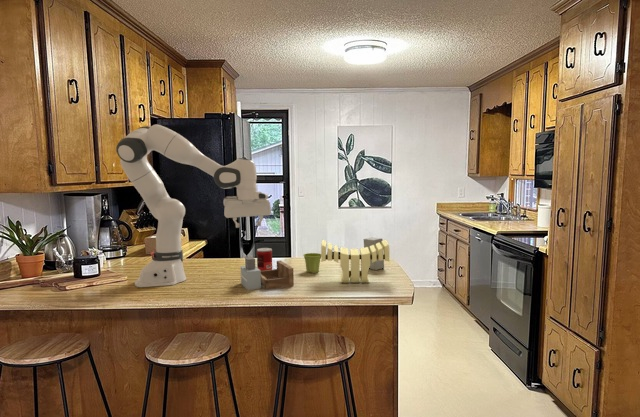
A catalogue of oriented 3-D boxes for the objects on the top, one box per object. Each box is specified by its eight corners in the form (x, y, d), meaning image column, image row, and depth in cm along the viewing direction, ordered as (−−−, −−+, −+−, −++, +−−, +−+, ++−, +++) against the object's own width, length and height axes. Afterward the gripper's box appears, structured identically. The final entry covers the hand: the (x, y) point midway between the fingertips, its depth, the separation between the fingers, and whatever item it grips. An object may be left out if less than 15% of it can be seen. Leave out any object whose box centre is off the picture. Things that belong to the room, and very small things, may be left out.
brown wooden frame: (255, 279, 191) (254, 263, 190) (280, 276, 196) (280, 260, 195) (266, 289, 175) (265, 271, 174) (293, 285, 180) (293, 268, 179)
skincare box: (384, 268, 210) (384, 238, 208) (374, 270, 206) (374, 239, 204) (373, 265, 217) (373, 236, 215) (363, 267, 213) (363, 237, 211)
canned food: (273, 268, 214) (273, 247, 213) (270, 272, 206) (269, 250, 205) (259, 268, 215) (259, 247, 214) (255, 272, 207) (255, 250, 206)
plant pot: (315, 268, 213) (315, 252, 212) (325, 272, 205) (325, 255, 204) (300, 271, 208) (299, 254, 207) (309, 274, 200) (309, 257, 199)
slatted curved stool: (321, 284, 181) (321, 245, 180) (323, 275, 197) (322, 239, 196) (389, 284, 180) (389, 244, 178) (385, 275, 196) (385, 239, 194)
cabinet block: (247, 290, 174) (246, 261, 173) (240, 283, 185) (240, 256, 184) (261, 288, 177) (260, 260, 176) (254, 282, 188) (253, 255, 187)
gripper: (224, 196, 172) (225, 229, 173) (271, 194, 179) (272, 225, 180) (222, 196, 177) (223, 227, 179) (267, 194, 185) (268, 224, 186)
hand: (248, 226), depth 180 cm, fingers open, 8 cm apart
